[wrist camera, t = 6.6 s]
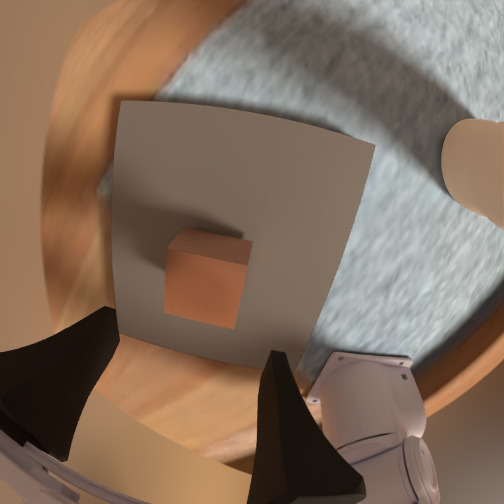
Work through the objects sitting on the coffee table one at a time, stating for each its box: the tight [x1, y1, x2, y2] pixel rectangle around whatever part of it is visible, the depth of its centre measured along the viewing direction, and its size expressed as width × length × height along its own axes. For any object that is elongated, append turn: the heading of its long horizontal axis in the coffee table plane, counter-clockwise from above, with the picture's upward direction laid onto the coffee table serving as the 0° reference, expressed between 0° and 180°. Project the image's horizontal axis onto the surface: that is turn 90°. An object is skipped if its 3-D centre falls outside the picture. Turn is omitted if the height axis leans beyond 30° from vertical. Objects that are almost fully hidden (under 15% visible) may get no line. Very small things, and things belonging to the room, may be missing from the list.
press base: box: [111, 101, 376, 374], centre depth 18 cm, size 15×18×3 cm
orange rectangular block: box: [164, 227, 253, 329], centre depth 16 cm, size 4×4×6 cm
